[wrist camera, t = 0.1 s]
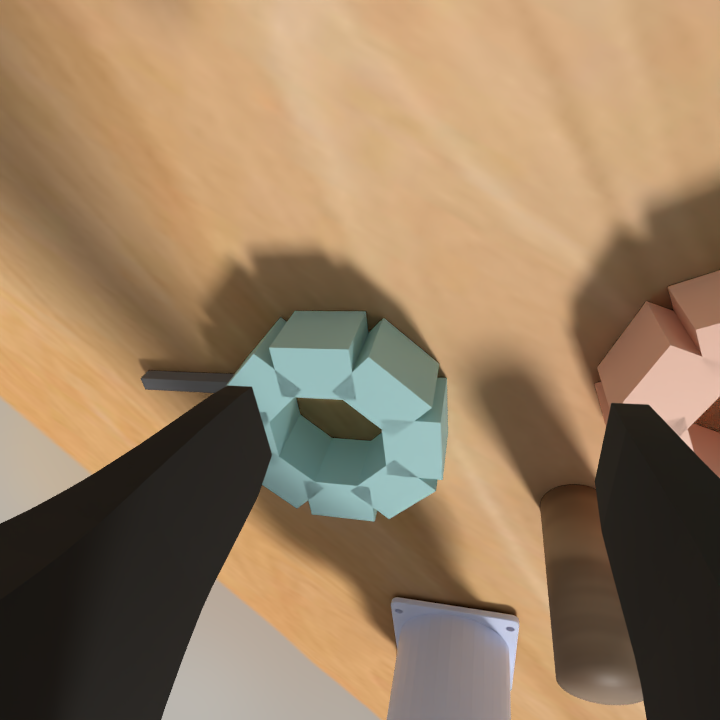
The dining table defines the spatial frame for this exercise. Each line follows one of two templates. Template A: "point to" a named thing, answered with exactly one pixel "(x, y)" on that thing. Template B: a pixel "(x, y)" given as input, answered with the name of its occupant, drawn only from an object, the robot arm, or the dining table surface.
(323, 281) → the dining table surface
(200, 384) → the long slate grey beam
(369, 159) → the dining table surface
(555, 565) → the dowel
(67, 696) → the robot arm
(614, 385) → the coral bead
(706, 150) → the dining table surface
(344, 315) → the teal bead
